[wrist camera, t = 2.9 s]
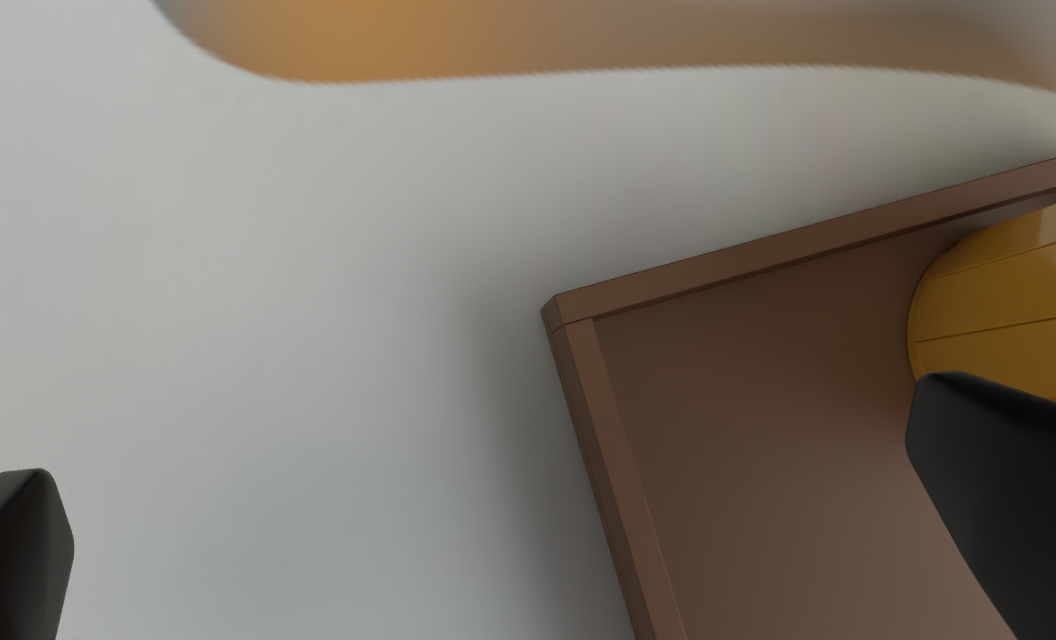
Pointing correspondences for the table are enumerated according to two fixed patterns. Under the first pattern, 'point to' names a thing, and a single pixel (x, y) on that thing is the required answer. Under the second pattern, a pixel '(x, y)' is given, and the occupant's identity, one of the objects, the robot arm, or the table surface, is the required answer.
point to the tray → (777, 428)
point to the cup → (991, 306)
